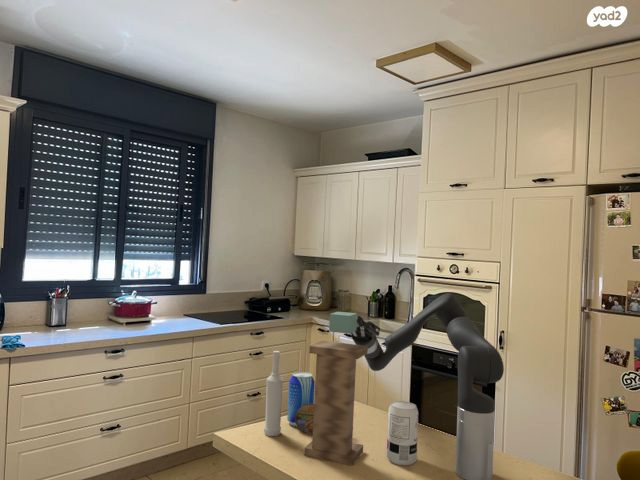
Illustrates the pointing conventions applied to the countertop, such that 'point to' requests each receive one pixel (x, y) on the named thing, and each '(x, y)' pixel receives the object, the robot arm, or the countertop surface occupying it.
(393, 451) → the supplement can
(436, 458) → the countertop surface
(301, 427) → the tin
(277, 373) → the bottle
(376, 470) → the countertop surface
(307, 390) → the beer can
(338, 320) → the mallet
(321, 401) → the stand
